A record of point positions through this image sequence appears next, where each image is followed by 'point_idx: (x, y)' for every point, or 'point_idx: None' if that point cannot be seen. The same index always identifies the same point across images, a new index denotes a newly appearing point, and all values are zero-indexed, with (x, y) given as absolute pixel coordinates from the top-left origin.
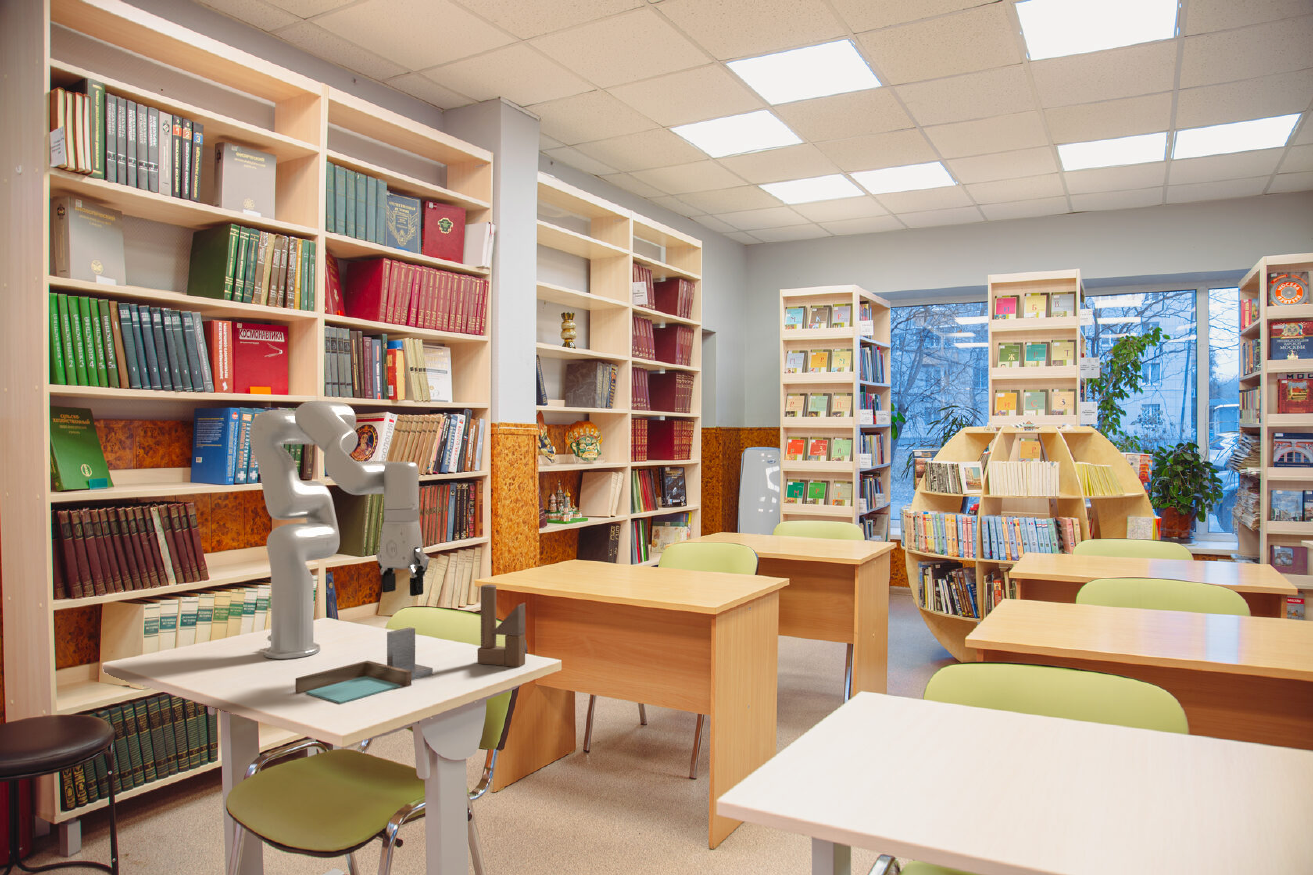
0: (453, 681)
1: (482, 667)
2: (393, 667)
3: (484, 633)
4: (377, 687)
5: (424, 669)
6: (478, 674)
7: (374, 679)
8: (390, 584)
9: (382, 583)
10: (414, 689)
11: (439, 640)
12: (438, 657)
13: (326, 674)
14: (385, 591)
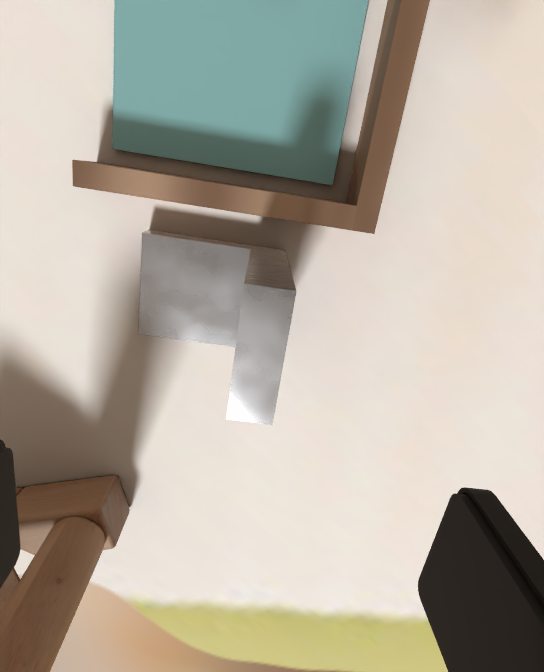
0: (11, 292)
1: (72, 451)
2: (186, 195)
3: (43, 561)
4: (161, 72)
5: (148, 306)
6: (14, 389)
7: (262, 160)
8: (463, 608)
9: (542, 566)
10: (40, 146)
11: (420, 604)
12: (286, 478)
13: None
14: (453, 499)
